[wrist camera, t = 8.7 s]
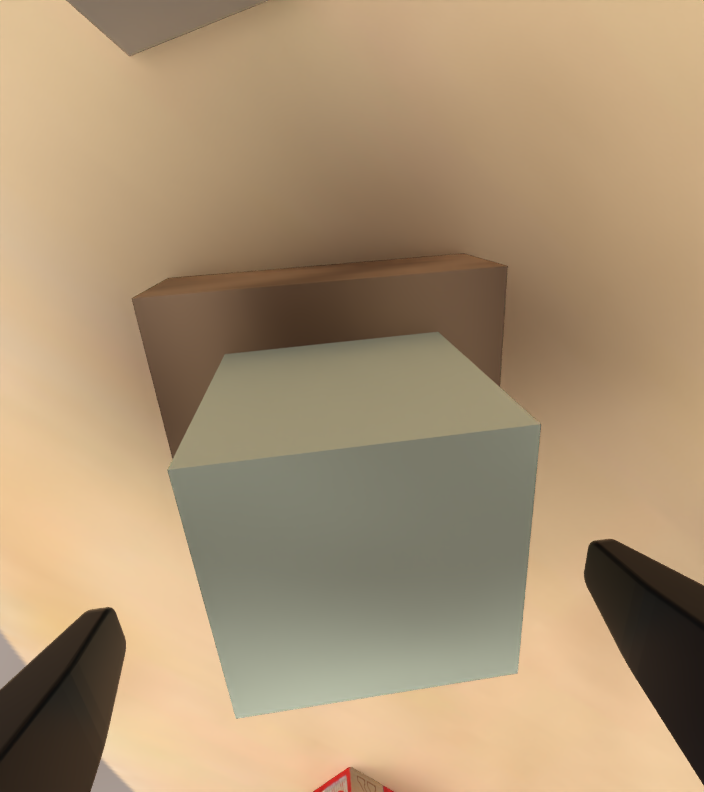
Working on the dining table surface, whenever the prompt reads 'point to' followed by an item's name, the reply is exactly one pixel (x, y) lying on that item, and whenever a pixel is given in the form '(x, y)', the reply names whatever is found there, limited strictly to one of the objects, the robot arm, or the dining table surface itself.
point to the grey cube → (154, 18)
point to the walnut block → (312, 317)
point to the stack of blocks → (352, 783)
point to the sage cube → (357, 520)
